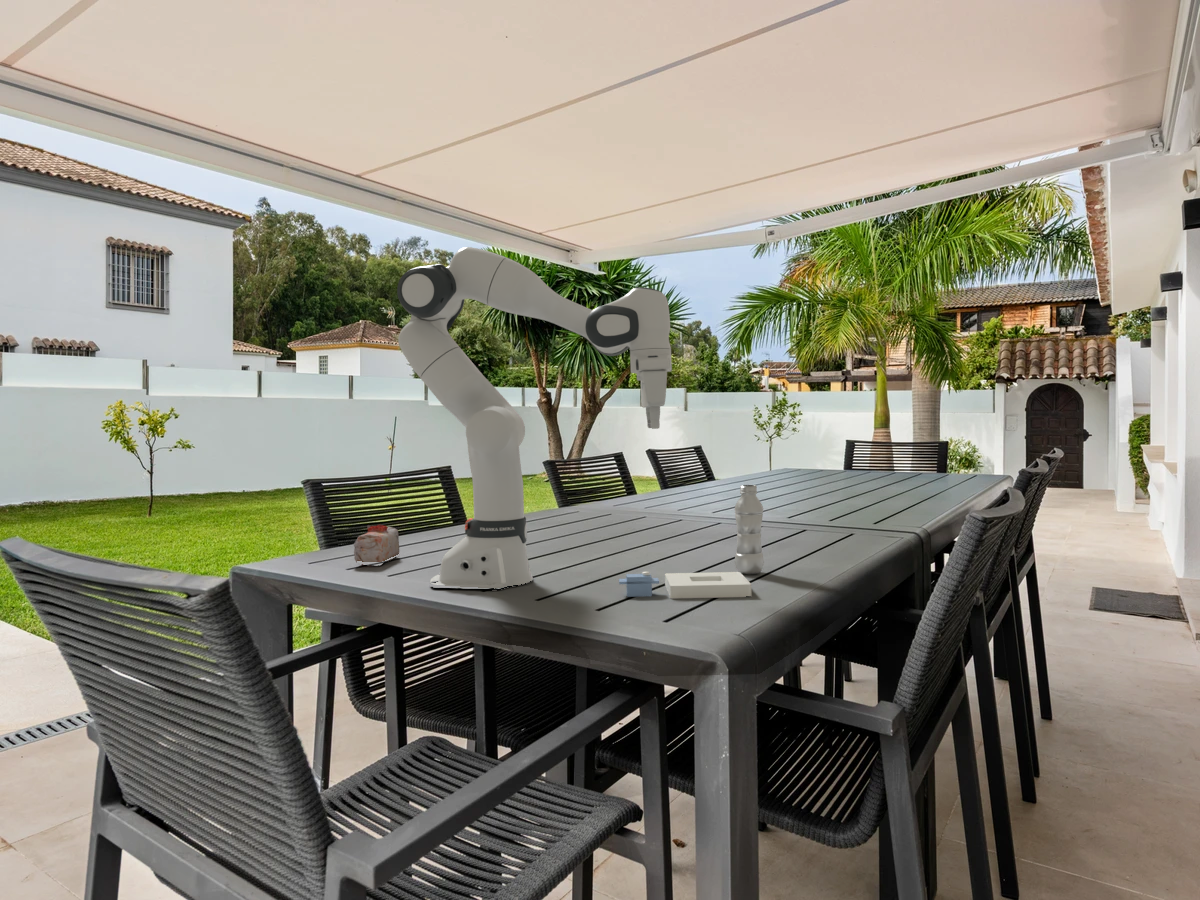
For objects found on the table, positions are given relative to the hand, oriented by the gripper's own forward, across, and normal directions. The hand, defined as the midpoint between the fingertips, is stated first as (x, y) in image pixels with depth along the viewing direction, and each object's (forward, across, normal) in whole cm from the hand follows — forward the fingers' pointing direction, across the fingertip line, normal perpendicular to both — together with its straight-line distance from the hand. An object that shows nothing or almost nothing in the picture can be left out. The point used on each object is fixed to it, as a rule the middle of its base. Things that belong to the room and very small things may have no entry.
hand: (653, 428), depth 163 cm
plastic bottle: (+34, -7, +21) cm, 41 cm away
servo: (+34, +11, -5) cm, 36 cm away
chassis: (+34, +9, +9) cm, 36 cm away
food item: (+32, -30, -70) cm, 83 cm away
